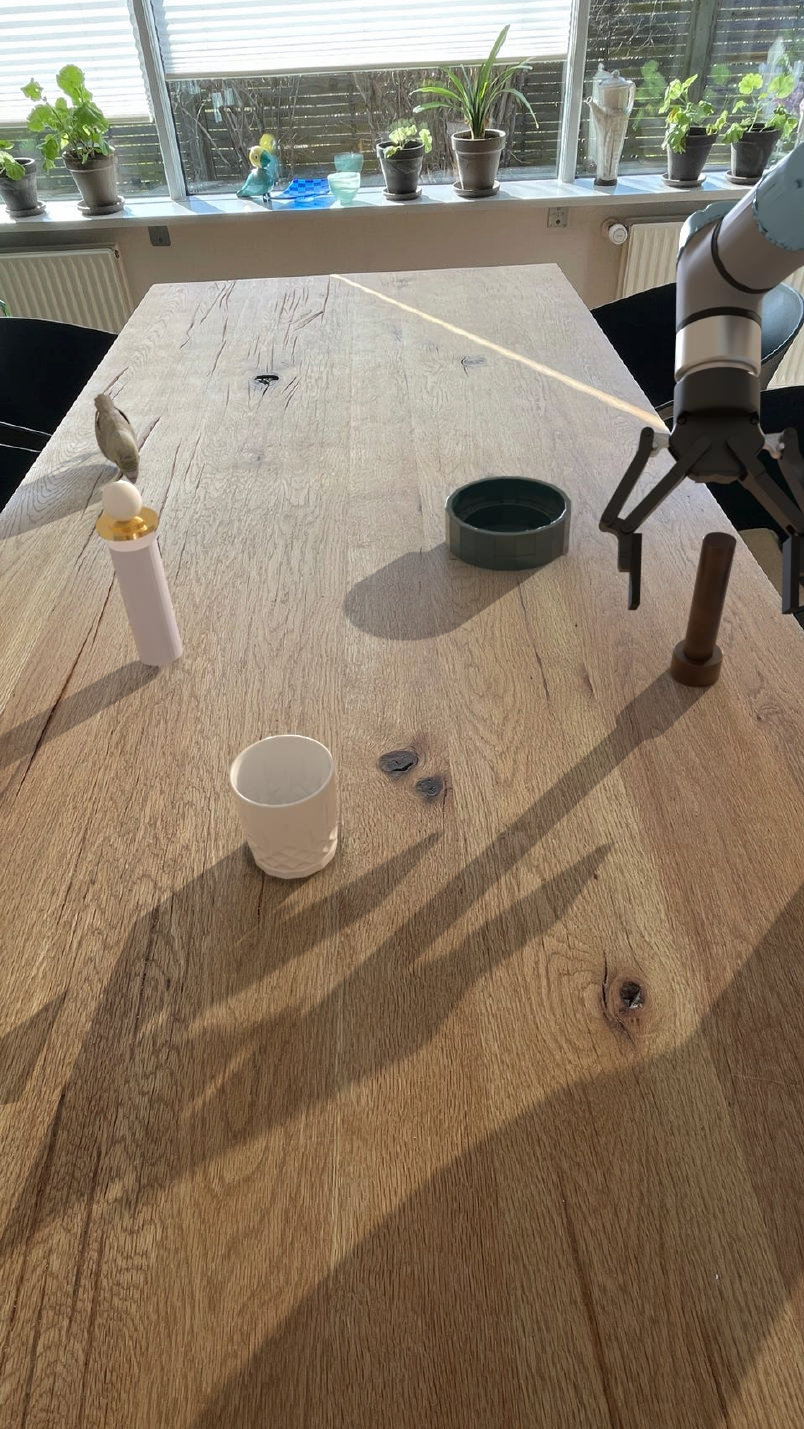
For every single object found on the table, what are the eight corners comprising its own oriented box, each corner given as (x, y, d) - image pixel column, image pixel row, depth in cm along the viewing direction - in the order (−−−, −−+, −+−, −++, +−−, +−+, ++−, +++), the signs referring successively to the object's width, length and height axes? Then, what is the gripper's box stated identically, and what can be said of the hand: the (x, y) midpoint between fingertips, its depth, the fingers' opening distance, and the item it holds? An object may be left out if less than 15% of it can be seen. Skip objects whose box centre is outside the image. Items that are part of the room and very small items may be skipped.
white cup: (305, 911, 73) (290, 821, 67) (228, 871, 77) (206, 782, 70) (364, 845, 78) (354, 756, 72) (289, 810, 82) (273, 722, 75)
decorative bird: (115, 489, 130) (101, 437, 126) (94, 446, 142) (81, 397, 137) (154, 480, 132) (142, 429, 127) (130, 438, 144) (119, 390, 139)
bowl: (567, 521, 118) (570, 476, 114) (568, 583, 107) (571, 536, 103) (451, 519, 120) (451, 475, 116) (441, 580, 109) (440, 533, 105)
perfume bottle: (190, 670, 98) (148, 493, 85) (133, 678, 97) (82, 501, 84) (190, 639, 102) (149, 465, 89) (135, 646, 101) (87, 473, 89)
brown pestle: (713, 671, 94) (743, 527, 83) (719, 700, 90) (751, 554, 80) (665, 669, 94) (689, 526, 84) (669, 698, 91) (695, 552, 80)
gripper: (845, 398, 89) (842, 621, 87) (576, 398, 92) (568, 613, 90) (875, 361, 82) (873, 604, 80) (581, 363, 85) (572, 596, 83)
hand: (711, 610), depth 85 cm, fingers open, 13 cm apart
